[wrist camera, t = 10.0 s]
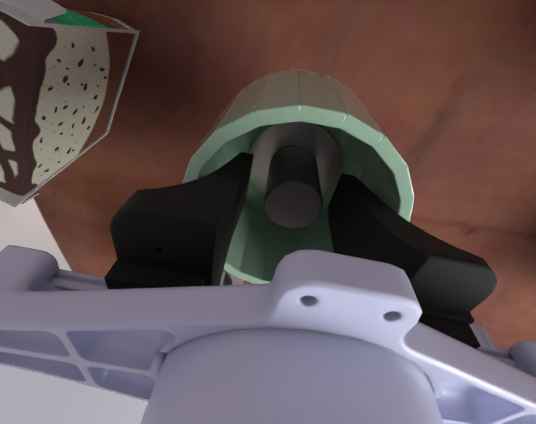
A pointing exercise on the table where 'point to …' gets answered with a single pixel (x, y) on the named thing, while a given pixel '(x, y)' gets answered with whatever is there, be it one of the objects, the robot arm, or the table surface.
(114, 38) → the food container
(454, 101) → the table surface
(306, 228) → the cup
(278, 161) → the lid
